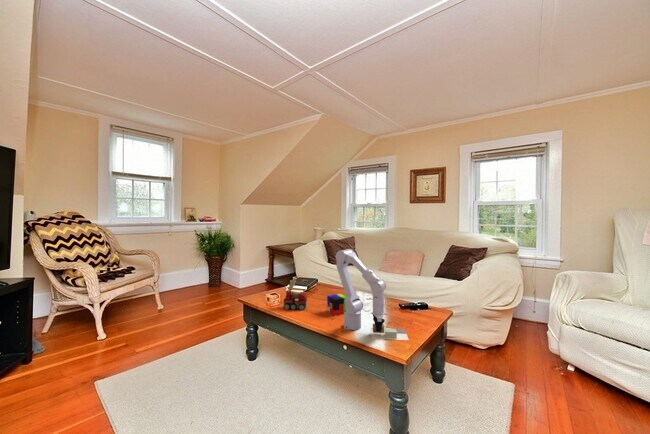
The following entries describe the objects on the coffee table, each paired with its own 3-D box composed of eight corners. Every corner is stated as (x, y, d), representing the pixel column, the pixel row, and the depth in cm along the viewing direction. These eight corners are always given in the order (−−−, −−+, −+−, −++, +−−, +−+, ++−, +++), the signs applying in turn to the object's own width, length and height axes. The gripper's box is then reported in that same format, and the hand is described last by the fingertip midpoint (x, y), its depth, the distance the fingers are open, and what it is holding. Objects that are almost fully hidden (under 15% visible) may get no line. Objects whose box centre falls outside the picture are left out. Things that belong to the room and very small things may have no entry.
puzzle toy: (327, 310, 180) (327, 295, 179) (340, 308, 184) (340, 293, 184) (334, 315, 171) (334, 300, 170) (348, 313, 175) (348, 297, 175)
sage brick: (385, 337, 138) (385, 331, 138) (384, 334, 142) (384, 328, 142) (396, 338, 137) (396, 332, 137) (395, 334, 141) (395, 328, 141)
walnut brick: (373, 332, 140) (373, 326, 140) (372, 329, 144) (372, 323, 144) (384, 333, 140) (384, 327, 140) (383, 329, 144) (383, 324, 144)
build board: (372, 340, 137) (372, 338, 137) (370, 329, 150) (370, 327, 150) (408, 342, 135) (408, 339, 135) (404, 330, 148) (404, 328, 148)
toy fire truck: (305, 310, 181) (305, 284, 180) (282, 309, 182) (282, 283, 182) (308, 304, 192) (308, 279, 192) (287, 304, 194) (286, 279, 193)
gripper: (387, 309, 134) (387, 336, 134) (384, 299, 148) (384, 324, 149) (373, 308, 135) (373, 335, 135) (371, 299, 149) (371, 323, 149)
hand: (378, 329), depth 142 cm, fingers closed on walnut brick, 4 cm apart
